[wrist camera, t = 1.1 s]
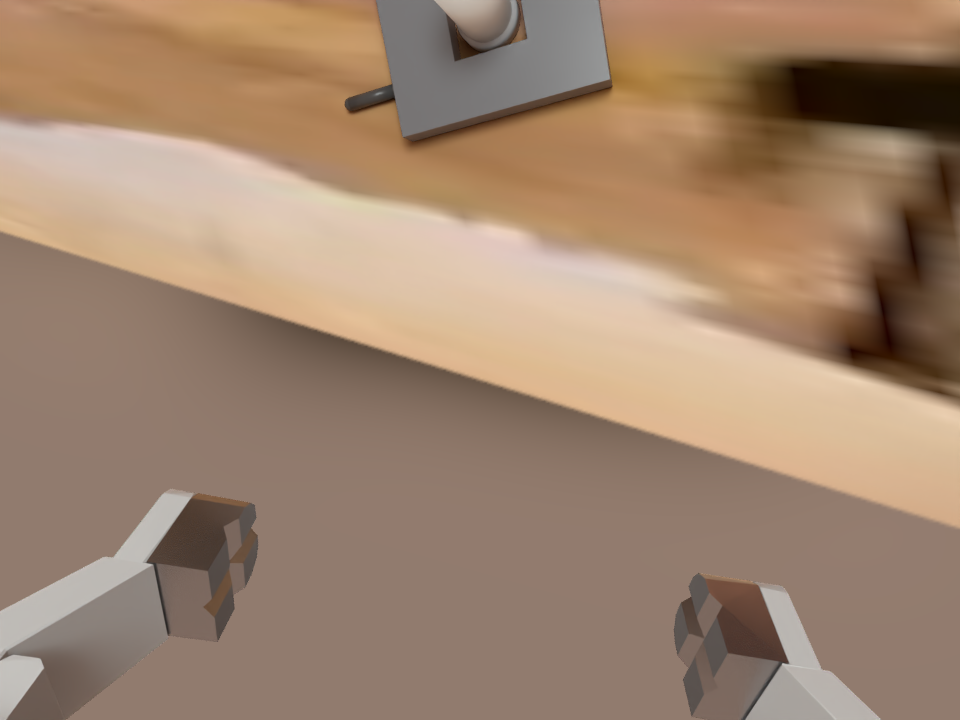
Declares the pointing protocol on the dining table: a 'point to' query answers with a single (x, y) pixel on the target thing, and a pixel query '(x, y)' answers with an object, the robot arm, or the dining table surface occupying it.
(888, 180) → the dining table surface
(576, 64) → the grey square frame
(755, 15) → the dining table surface
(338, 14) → the dining table surface
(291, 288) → the dining table surface
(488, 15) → the white rounded cylinder
